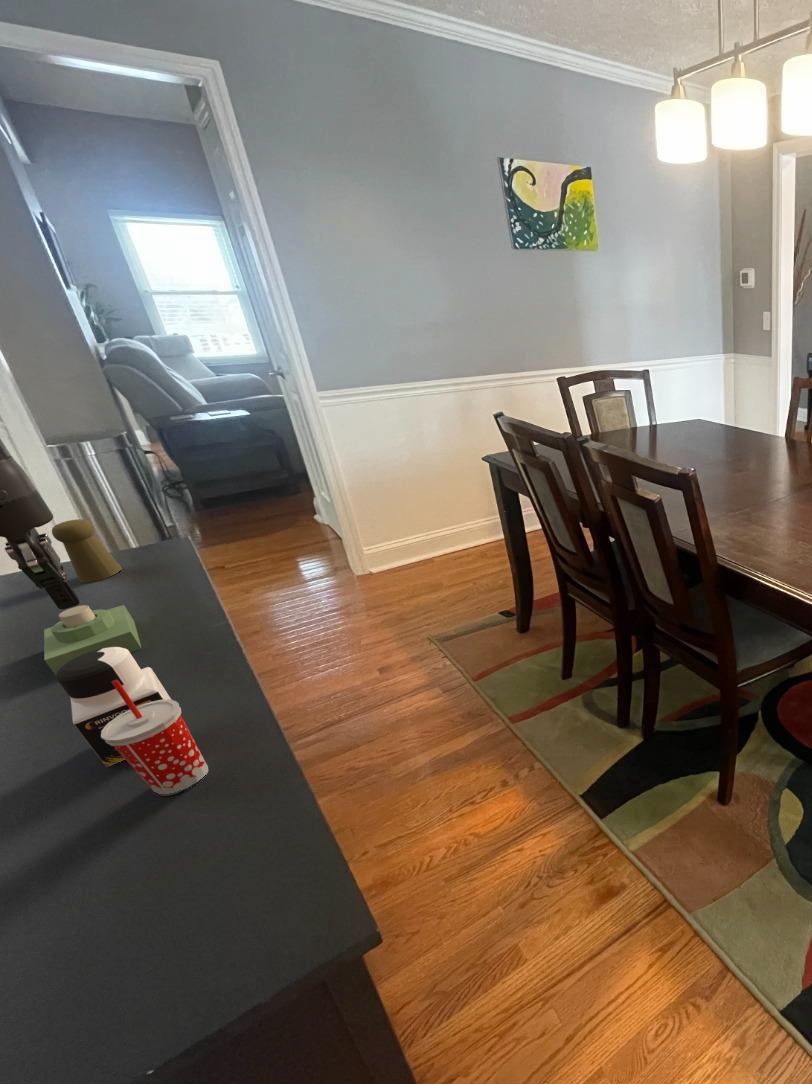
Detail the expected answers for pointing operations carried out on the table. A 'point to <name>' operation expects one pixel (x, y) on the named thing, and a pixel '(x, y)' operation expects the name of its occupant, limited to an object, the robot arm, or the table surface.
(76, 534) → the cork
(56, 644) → the green push button box
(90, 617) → the beige button cap
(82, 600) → the table surface
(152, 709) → the beverage cup
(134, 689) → the medicine bottle
